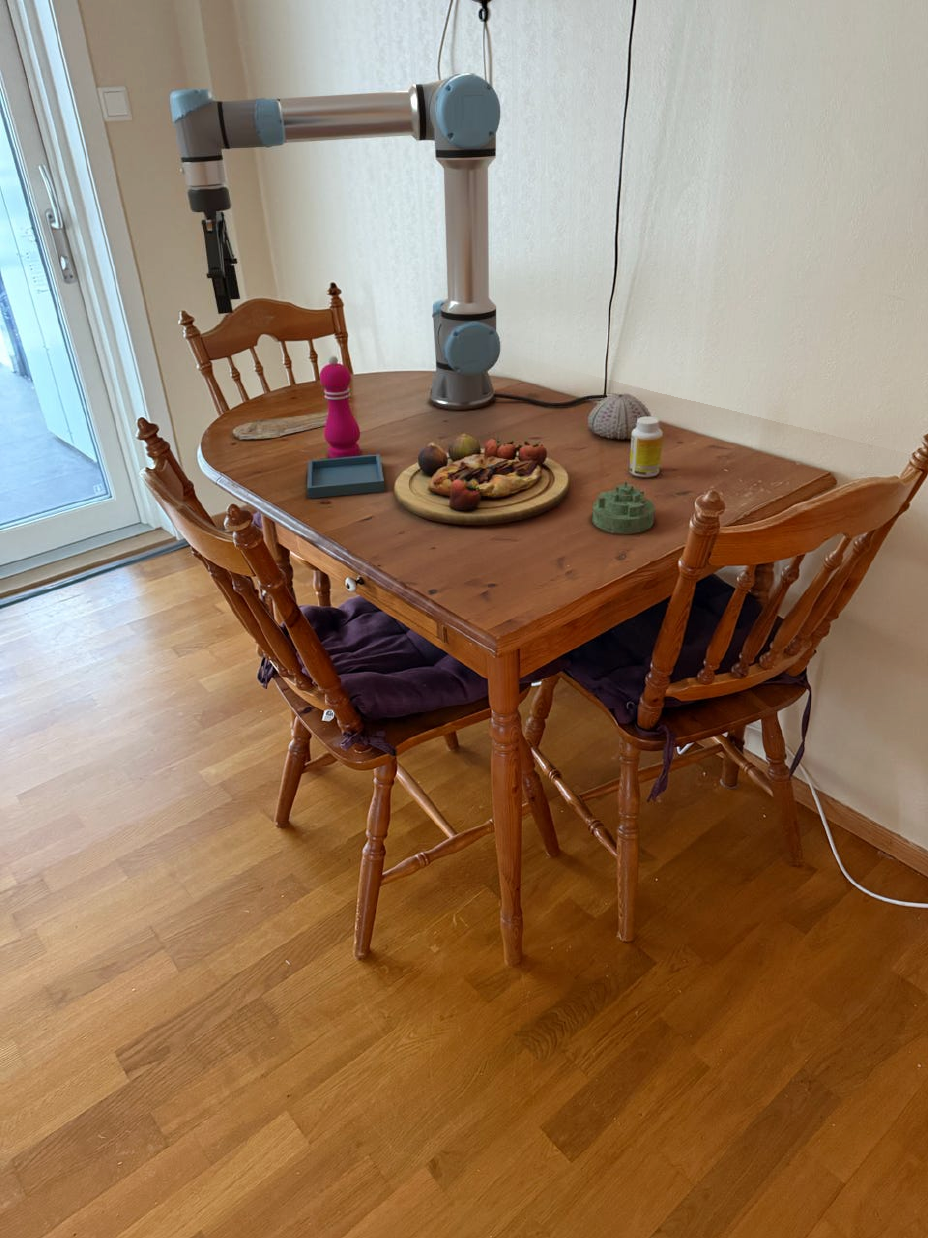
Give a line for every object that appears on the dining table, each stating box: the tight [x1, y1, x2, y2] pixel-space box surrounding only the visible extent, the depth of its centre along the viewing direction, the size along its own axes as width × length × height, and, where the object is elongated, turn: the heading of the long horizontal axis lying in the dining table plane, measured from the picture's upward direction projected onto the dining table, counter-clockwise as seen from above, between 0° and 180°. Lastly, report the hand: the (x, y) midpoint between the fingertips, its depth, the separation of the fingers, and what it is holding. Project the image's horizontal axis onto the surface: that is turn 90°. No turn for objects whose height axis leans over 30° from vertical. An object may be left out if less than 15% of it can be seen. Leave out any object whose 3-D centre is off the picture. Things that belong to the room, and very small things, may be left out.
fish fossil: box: [232, 411, 328, 440], centre depth 187 cm, size 26×10×1 cm, turn 123°
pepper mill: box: [319, 355, 361, 459], centre depth 166 cm, size 7×7×20 cm
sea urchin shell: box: [587, 393, 652, 440], centre depth 173 cm, size 13×14×8 cm
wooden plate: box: [393, 433, 571, 526], centre depth 150 cm, size 32×32×8 cm
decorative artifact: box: [592, 480, 656, 535], centre depth 137 cm, size 10×7×10 cm
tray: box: [306, 453, 386, 500], centre depth 159 cm, size 14×14×2 cm
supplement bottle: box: [629, 416, 664, 478], centre depth 154 cm, size 6×6×10 cm
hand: (229, 305), depth 167 cm, fingers open, 13 cm apart
